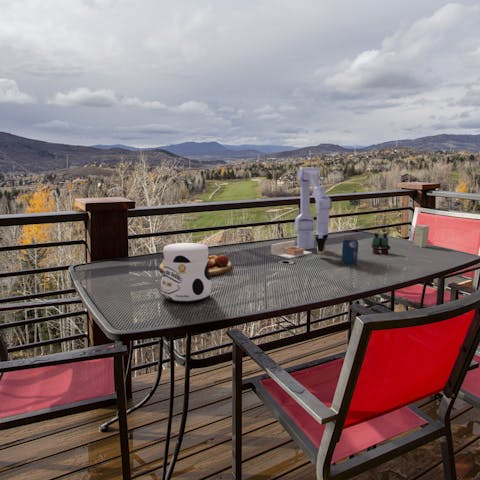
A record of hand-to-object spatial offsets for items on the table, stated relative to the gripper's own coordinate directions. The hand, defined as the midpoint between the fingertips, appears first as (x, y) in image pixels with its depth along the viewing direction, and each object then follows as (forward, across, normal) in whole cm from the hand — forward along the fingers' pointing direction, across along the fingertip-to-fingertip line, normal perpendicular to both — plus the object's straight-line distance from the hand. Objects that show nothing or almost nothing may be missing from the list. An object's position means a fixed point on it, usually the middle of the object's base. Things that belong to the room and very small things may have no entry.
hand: (321, 250), depth 201 cm
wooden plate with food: (+5, +38, -51) cm, 64 cm away
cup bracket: (+4, -4, -15) cm, 16 cm away
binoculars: (+4, -21, +29) cm, 36 cm away
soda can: (+4, +8, +14) cm, 17 cm away
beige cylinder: (+2, 0, 0) cm, 2 cm away
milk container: (+4, +76, -38) cm, 85 cm away
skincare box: (+4, -48, +51) cm, 70 cm away
